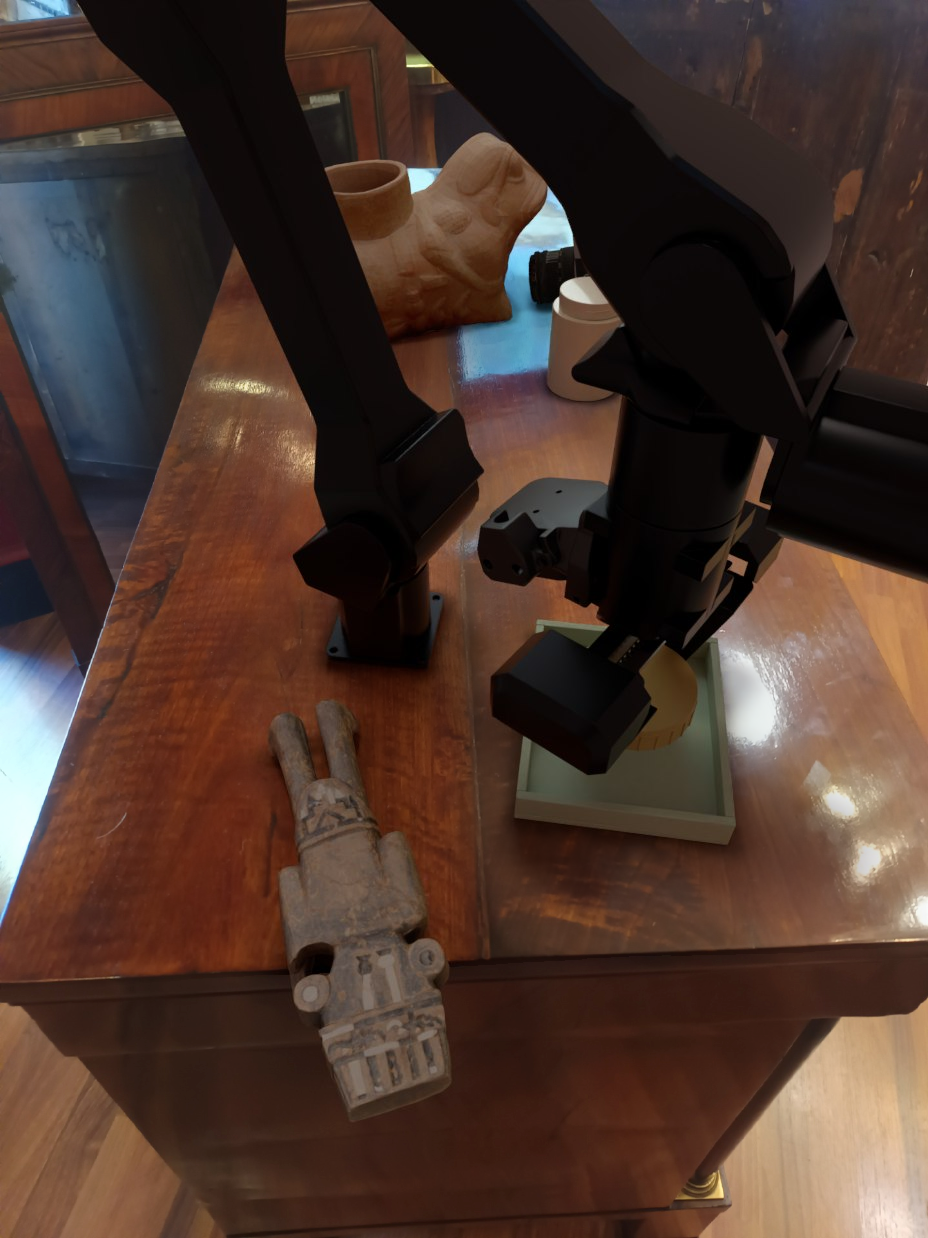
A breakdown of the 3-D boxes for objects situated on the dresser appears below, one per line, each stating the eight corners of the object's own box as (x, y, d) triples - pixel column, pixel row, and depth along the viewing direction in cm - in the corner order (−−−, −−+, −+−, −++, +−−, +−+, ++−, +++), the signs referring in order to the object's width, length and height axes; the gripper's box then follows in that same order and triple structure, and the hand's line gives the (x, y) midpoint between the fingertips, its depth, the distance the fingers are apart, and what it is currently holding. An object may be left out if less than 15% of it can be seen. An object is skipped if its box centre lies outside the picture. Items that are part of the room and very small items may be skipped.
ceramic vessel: (566, 314, 84) (581, 152, 74) (317, 361, 77) (294, 190, 67) (511, 263, 93) (517, 112, 83) (284, 301, 86) (258, 142, 76)
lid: (609, 637, 48) (612, 617, 47) (714, 693, 45) (721, 673, 44) (543, 709, 45) (545, 689, 43) (653, 775, 42) (659, 755, 40)
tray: (727, 845, 42) (736, 826, 41) (514, 818, 43) (515, 798, 42) (711, 658, 51) (718, 637, 50) (534, 639, 52) (536, 618, 51)
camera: (548, 280, 93) (537, 186, 86) (645, 270, 90) (641, 171, 83) (528, 340, 83) (514, 238, 76) (637, 331, 80) (632, 224, 73)
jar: (616, 404, 72) (630, 309, 66) (544, 398, 73) (551, 304, 67) (617, 368, 76) (631, 276, 70) (549, 363, 77) (556, 271, 71)
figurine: (255, 774, 47) (325, 1163, 33) (233, 718, 43) (300, 1127, 29) (373, 739, 48) (487, 1099, 34) (360, 682, 45) (482, 1057, 31)
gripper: (624, 349, 44) (591, 568, 55) (388, 523, 33) (407, 749, 44) (829, 420, 39) (747, 644, 50) (626, 649, 28) (581, 867, 40)
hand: (624, 715), depth 46 cm, fingers closed on lid, 6 cm apart
